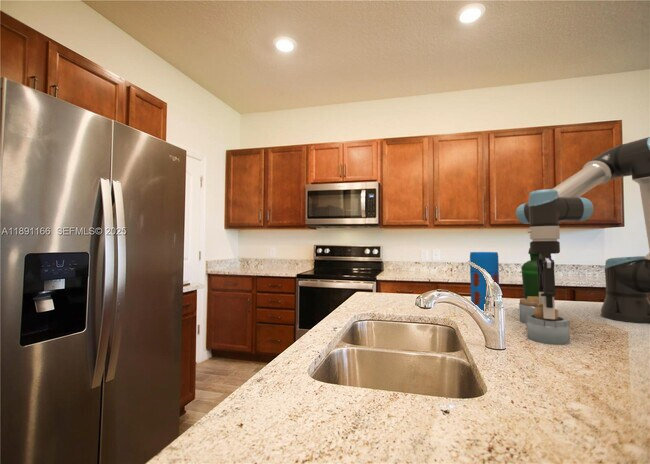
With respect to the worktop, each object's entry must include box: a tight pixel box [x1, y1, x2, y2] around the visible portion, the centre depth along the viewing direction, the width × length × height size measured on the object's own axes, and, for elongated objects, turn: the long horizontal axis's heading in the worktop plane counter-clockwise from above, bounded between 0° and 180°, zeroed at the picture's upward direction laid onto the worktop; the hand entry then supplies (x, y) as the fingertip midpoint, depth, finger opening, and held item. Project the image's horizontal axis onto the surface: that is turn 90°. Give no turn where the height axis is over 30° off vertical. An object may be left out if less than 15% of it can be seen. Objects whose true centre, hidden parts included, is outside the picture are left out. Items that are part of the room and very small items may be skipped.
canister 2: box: [526, 314, 571, 346], centre depth 97 cm, size 11×11×6 cm
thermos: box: [469, 251, 500, 311], centre depth 135 cm, size 11×11×25 cm
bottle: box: [520, 247, 541, 298], centre depth 129 cm, size 11×11×28 cm
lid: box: [534, 304, 559, 321], centre depth 97 cm, size 6×6×5 cm
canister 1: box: [518, 296, 539, 324], centre depth 117 cm, size 9×9×9 cm
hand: (546, 315), depth 97 cm, fingers open, 7 cm apart
